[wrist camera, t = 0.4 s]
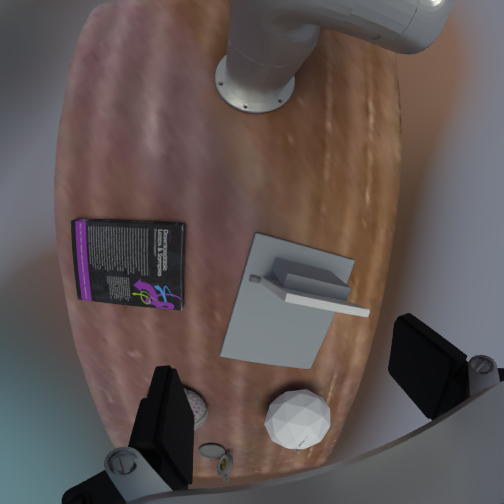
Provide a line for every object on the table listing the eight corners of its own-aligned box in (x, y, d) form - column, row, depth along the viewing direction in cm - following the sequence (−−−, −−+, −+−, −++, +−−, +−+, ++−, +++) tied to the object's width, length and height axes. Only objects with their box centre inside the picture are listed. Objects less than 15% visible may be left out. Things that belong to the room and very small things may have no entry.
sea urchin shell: (219, 409, 52) (221, 436, 44) (172, 427, 52) (169, 452, 44) (181, 371, 48) (177, 398, 41) (133, 392, 49) (125, 418, 41)
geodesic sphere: (319, 439, 51) (343, 454, 38) (261, 448, 49) (272, 468, 37) (317, 384, 57) (341, 387, 44) (258, 390, 55) (268, 397, 42)
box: (84, 292, 43) (185, 303, 45) (76, 300, 40) (182, 313, 42) (79, 216, 40) (187, 222, 42) (69, 219, 36) (184, 226, 39)
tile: (286, 293, 31) (284, 301, 31) (370, 310, 33) (367, 317, 33) (262, 277, 44) (261, 284, 44) (328, 292, 46) (327, 298, 46)
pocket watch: (197, 442, 54) (196, 473, 45) (231, 441, 55) (234, 473, 46) (201, 458, 56) (201, 486, 47) (232, 457, 57) (235, 486, 48)
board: (255, 231, 43) (264, 245, 34) (351, 259, 46) (379, 275, 37) (219, 352, 48) (221, 385, 39) (308, 365, 51) (322, 395, 42)
